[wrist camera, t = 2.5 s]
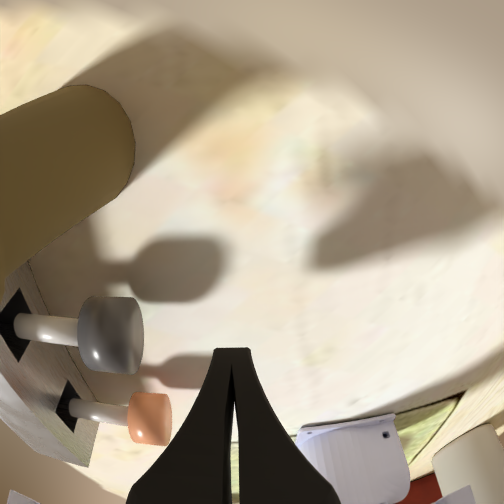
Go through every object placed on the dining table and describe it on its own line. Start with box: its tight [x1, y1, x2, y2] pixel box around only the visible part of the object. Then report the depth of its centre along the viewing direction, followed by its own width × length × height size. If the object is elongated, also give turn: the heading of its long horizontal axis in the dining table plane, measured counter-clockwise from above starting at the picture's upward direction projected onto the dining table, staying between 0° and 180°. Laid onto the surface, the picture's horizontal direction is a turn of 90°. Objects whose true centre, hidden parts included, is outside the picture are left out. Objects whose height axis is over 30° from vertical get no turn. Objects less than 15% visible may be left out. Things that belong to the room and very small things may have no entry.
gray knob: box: [14, 296, 144, 375], centre depth 13 cm, size 7×4×4 cm, turn 90°
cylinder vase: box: [432, 424, 504, 504], centre depth 25 cm, size 12×12×25 cm
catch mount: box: [0, 261, 99, 468], centre depth 15 cm, size 6×18×6 cm, turn 0°
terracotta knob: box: [69, 392, 172, 446], centre depth 17 cm, size 7×4×4 cm, turn 90°
